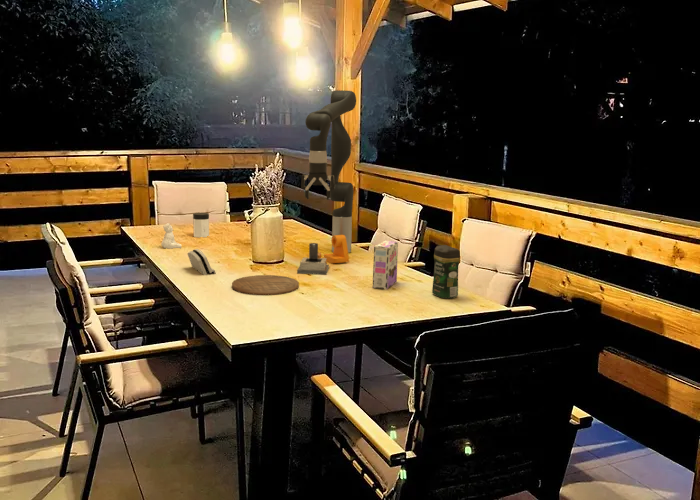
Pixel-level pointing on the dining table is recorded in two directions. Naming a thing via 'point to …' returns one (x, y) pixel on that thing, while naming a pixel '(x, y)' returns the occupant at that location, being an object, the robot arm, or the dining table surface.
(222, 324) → the dining table surface
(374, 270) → the candy box
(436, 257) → the coffee jar
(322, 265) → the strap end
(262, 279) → the trivet
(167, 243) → the white creature statuette
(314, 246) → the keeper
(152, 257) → the dining table surface
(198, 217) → the jar
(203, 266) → the beige fin shape
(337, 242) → the bracket
